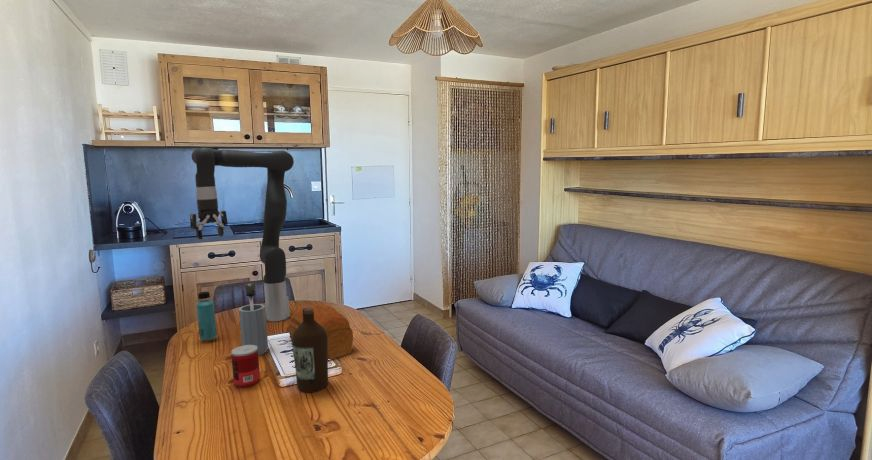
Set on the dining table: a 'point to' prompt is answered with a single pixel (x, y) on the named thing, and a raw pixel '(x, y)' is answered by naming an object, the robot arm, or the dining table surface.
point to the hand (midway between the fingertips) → (210, 237)
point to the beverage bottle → (206, 317)
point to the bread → (328, 328)
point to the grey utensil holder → (254, 327)
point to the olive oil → (310, 354)
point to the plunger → (250, 293)
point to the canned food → (245, 365)
